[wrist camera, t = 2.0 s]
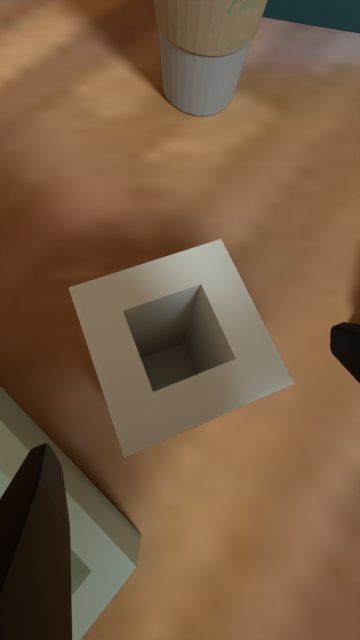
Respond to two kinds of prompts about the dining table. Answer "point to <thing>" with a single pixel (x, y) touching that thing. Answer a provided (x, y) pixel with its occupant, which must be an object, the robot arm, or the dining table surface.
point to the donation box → (317, 13)
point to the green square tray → (76, 520)
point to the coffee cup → (204, 50)
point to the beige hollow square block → (176, 344)
